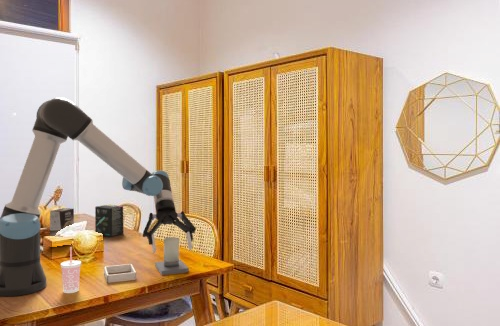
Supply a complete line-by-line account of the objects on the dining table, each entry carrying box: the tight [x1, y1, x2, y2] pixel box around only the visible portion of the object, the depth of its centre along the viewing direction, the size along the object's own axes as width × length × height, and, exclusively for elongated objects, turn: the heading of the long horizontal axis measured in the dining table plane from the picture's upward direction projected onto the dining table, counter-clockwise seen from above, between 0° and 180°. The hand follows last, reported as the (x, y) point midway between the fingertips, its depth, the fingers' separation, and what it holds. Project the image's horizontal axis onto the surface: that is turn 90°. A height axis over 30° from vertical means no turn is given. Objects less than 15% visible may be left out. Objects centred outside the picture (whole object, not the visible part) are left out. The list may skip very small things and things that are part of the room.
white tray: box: [103, 263, 137, 284], centre depth 149 cm, size 10×11×2 cm
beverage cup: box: [60, 246, 82, 294], centre depth 134 cm, size 6×6×14 cm
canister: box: [163, 236, 180, 267], centre depth 158 cm, size 6×6×10 cm
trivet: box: [154, 259, 190, 276], centre depth 159 cm, size 10×12×2 cm
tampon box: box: [94, 204, 125, 238], centre depth 215 cm, size 11×9×15 cm
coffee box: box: [49, 207, 75, 237], centre depth 193 cm, size 9×6×16 cm
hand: (173, 249), depth 156 cm, fingers open, 13 cm apart
